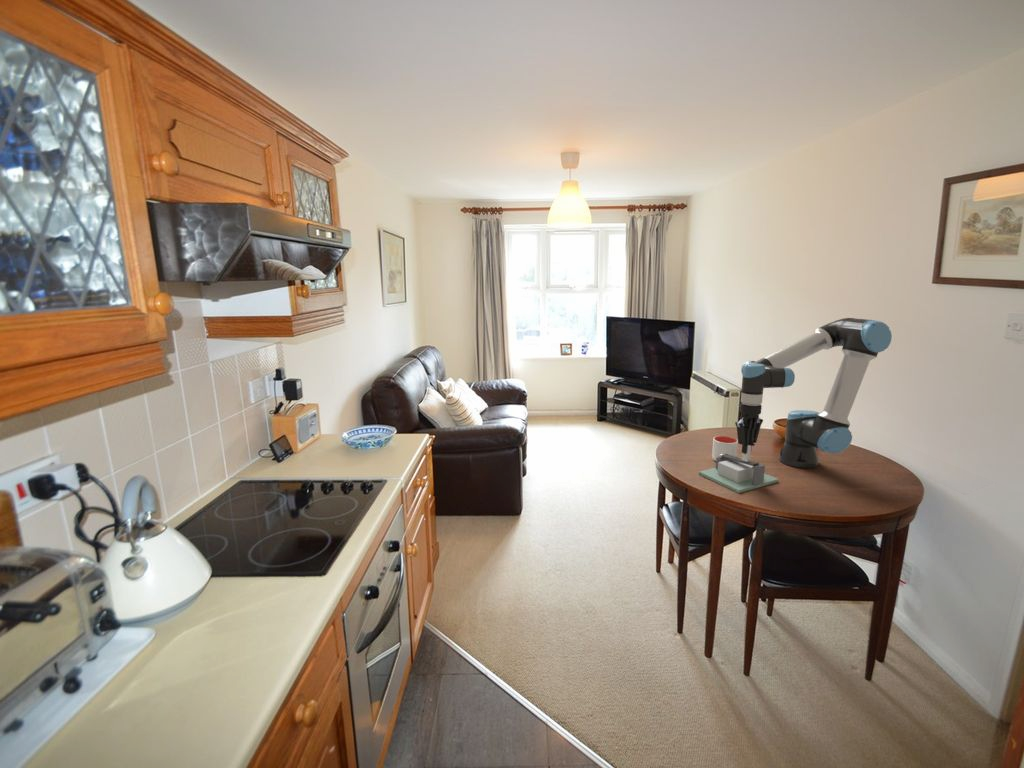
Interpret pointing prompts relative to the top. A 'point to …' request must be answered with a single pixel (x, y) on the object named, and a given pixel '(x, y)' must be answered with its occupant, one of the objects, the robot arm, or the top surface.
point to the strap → (738, 459)
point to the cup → (724, 446)
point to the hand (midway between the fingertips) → (745, 460)
